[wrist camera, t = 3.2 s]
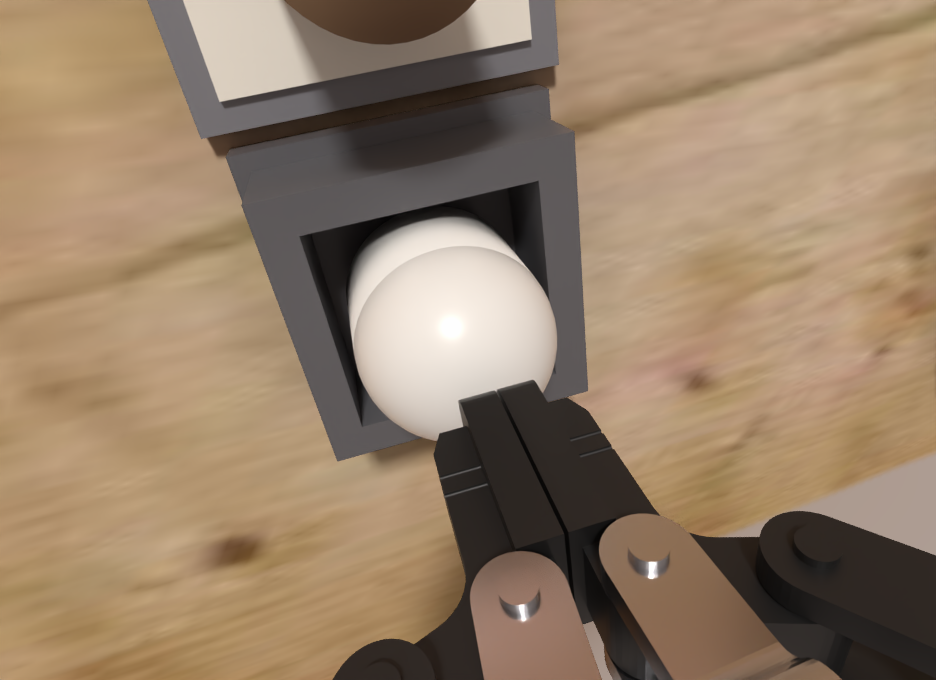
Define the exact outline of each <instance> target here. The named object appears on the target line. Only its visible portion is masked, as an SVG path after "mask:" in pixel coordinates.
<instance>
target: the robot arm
mask: <svg viewBox="0 0 936 680" xmlns="http://www.w3.org/2000/svg"><path fill="white" fill-rule="evenodd" d="M458 403H459V409H460V414H461V419H462V423H463V427H461V428H457V429H453V430H450V431H446V432H443V433H439V437H438V440H437V444H436V448H435V452H434V459H435V463H436V466H437V470H438V474H439V478H440V482H441V486H442V490H443V494H444V498H445V502H446V506H447V509H448V513H449V517H450V520H451V524H452V528H453V531H454V535H455V539H456V542H457V546H458V550H459V553H460V557H461V561H462V564H463V568H464V572H465V575H466V583H465V589H464V593H463V596H462V598H461V600H460V602H459V604H458V606H457V608H456V609H455V611H454V612H453V613H452V615H451V616H450V617H449V618H448V619H447V620H446V621H445V622H444V623H443V624H441V625H440V626H439V627H438V628H436V629H435V630H434V631H432V632H431V633H429V634H428V635H427V636H425V637H424V638H422V639H421V640H420V641H418V642H417V643H415V644H412V643H410V642H407V641H404V640H400V639H384V640H379V641H376V642H373V643H370V644H368V645H366V646H364V647H362V648H361V649H359V650H358V651H356V652H355V653H354V654H353V655H351V656H350V657H349V658H348V659H347V660H346V661H345V663H344V664H343V665H342V666H341V668H340V669H339V670H338V672H337V673H336V675H335V677H334V678H333V680H602V679H601V676H600V673H599V670H598V667H597V664H596V662H595V659H594V656H593V653H592V650H591V647H590V644H589V642H588V639H587V636H586V633H585V630H584V627H583V624H586V623H588V622H591V621H594V623H595V625H596V628H597V630H598V632H599V634H600V636H601V638H602V641H603V643H604V653H605V661H606V665H607V668H608V670H609V673H610V675H611V676H612V678H613V680H936V556H935V555H932V554H930V553H927V552H925V551H922V550H919V549H916V548H914V547H911V546H908V545H905V544H903V543H900V542H897V541H894V540H891V539H889V538H886V537H883V536H880V535H877V534H875V533H872V532H869V531H866V530H864V529H861V528H858V527H855V526H853V525H850V524H847V523H845V522H842V521H839V520H836V519H833V518H830V517H828V516H825V515H821V514H817V513H812V512H805V511H793V512H787V513H782V514H780V515H777V516H775V517H773V518H772V519H770V520H769V521H768V522H767V523H766V524H765V525H764V527H763V529H762V530H761V534H760V537H705V536H699V535H695V534H692V533H688V532H687V531H686V530H685V529H684V528H683V527H682V526H680V525H679V524H677V523H676V522H674V521H672V520H670V519H667V518H665V517H662V516H660V515H659V514H658V513H657V511H656V510H655V509H654V508H653V506H652V505H651V503H650V502H649V500H648V499H647V497H646V496H645V494H644V493H643V491H642V490H641V488H640V487H639V485H638V484H637V483H636V481H635V480H634V478H633V477H632V475H631V474H630V472H629V471H628V469H627V468H626V466H625V465H624V463H623V462H622V460H621V459H620V457H619V456H618V454H617V453H616V451H615V450H614V449H612V447H611V444H610V443H609V441H608V440H607V438H606V437H605V435H604V434H602V433H601V429H600V428H599V426H598V425H597V423H596V422H595V420H594V419H593V417H592V416H591V415H590V413H589V412H588V411H587V410H586V409H584V408H583V407H581V406H580V405H578V404H576V403H575V402H573V401H572V400H570V399H568V398H563V399H560V400H556V401H553V402H549V403H548V402H547V400H546V398H545V397H544V395H543V393H542V392H541V390H540V388H539V386H538V385H537V383H536V382H535V381H534V380H529V381H525V382H522V383H518V384H514V385H511V386H507V387H504V388H500V389H497V391H495V390H493V391H490V392H486V393H482V394H479V395H475V396H471V397H468V398H464V399H461V400H458Z"/></svg>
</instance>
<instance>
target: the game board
mask: <svg viewBox="0 0 936 680" xmlns="http://www.w3.org/2000/svg"><path fill="white" fill-rule="evenodd" d="M147 1H148V3H149V6H150V8H151V11H152V14H153V16H154V19H155V21H156V24H157V26H158V29H159V32H160V34H161V37H162V39H163V42H164V44H165V47H166V50H167V52H168V55H169V57H170V60H171V62H172V65H173V68H174V70H175V73H176V75H177V78H178V80H179V83H180V86H181V88H182V91H183V93H184V96H185V98H186V101H187V104H188V106H189V109H190V111H191V114H192V117H193V119H194V122H195V124H196V127H197V129H198V132H199V135H200V137H201V139H203V138H208V137H213V136H218V135H222V134H227V133H232V132H237V131H242V130H246V129H251V128H256V127H261V126H266V125H271V124H275V123H280V122H285V121H290V120H295V119H300V118H304V117H309V116H314V115H319V114H324V113H329V112H333V111H338V110H343V109H348V108H353V107H357V106H362V105H367V104H372V103H377V102H382V101H386V100H391V99H396V98H401V97H406V96H411V95H415V94H420V93H425V92H430V91H435V90H440V89H444V88H449V87H454V86H459V85H464V84H468V83H473V82H478V81H483V80H488V79H493V78H497V77H502V76H507V75H512V74H517V73H522V72H526V71H531V70H536V69H541V68H546V67H550V66H555V65H559V59H558V43H557V27H556V12H555V0H476V1H475V2H474V3H473V5H472V6H471V7H470V8H469V9H468V10H467V11H466V12H465V13H464V14H462V15H461V16H460V17H459V18H458V19H456V20H455V21H454V22H453V23H451V24H449V25H448V26H446V27H445V28H443V29H441V30H440V31H438V32H436V33H434V34H431V35H429V36H427V37H425V38H422V39H418V40H414V41H411V42H407V43H399V44H391V45H385V44H369V43H363V42H357V41H353V40H350V39H347V38H344V37H341V36H337V35H335V34H333V33H331V32H329V31H327V30H325V29H323V28H320V27H319V26H317V25H316V24H314V23H313V22H311V21H309V20H308V19H306V18H305V17H303V16H302V15H301V14H300V13H298V12H297V11H296V10H295V9H293V8H292V7H291V6H290V5H289V4H287V3H286V2H285V1H284V0H147Z"/></svg>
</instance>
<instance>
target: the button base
mask: <svg viewBox="0 0 936 680" xmlns="http://www.w3.org/2000/svg"><path fill="white" fill-rule="evenodd" d="M226 159H227V162H228V165H229V167H230V170H231V173H232V175H233V178H234V181H235V183H236V186H237V189H238V191H239V194H240V197H241V199H242V208H243V211H244V213H245V216H246V219H247V221H248V224H249V227H250V229H251V232H252V235H253V237H254V240H255V243H256V245H257V248H258V251H259V253H260V256H261V259H262V261H263V264H264V267H265V269H266V272H267V275H268V277H269V280H270V283H271V285H272V288H273V291H274V293H275V296H276V299H277V301H278V304H279V307H280V309H281V312H282V315H283V317H284V320H285V323H286V325H287V328H288V331H289V333H290V336H291V339H292V341H293V344H294V347H295V349H296V352H297V355H298V357H299V360H300V363H301V365H302V368H303V371H304V373H305V376H306V379H307V381H308V384H309V387H310V389H311V392H312V395H313V397H314V400H315V403H316V405H317V408H318V411H319V413H320V416H321V419H322V421H323V424H324V427H325V429H326V432H327V435H328V437H329V440H330V443H331V445H332V448H333V451H334V453H335V456H336V459H337V461H341V460H345V459H348V458H352V457H355V456H359V455H362V454H366V453H369V452H373V451H377V450H380V449H384V448H387V447H391V446H394V445H398V444H401V443H405V442H409V441H412V440H416V439H419V438H423V437H420V436H417V435H415V434H413V433H411V432H408V431H407V430H405V429H403V428H402V427H400V426H399V425H397V424H396V423H394V422H393V421H391V420H390V419H389V418H388V417H387V416H386V415H385V414H384V413H383V412H382V411H381V410H380V409H379V408H378V407H377V405H376V404H375V403H374V402H373V401H372V399H371V397H370V396H369V394H368V392H367V391H366V389H365V387H364V385H363V383H362V381H361V378H360V376H359V373H358V369H357V365H356V361H355V356H354V350H353V343H352V336H351V329H350V321H349V314H348V307H347V299H346V283H347V277H348V272H349V268H350V266H351V263H352V260H353V258H354V256H355V254H356V253H357V251H358V249H359V248H360V246H361V245H362V243H363V242H364V241H365V239H366V238H367V237H368V236H369V235H370V234H371V233H372V232H373V231H374V230H375V229H377V228H378V227H379V226H380V225H382V224H383V223H385V222H386V221H388V220H389V219H391V218H393V217H395V216H397V215H399V214H401V213H404V212H407V211H410V210H415V209H419V208H423V207H432V206H443V207H452V208H456V209H461V210H464V211H467V212H469V213H472V214H474V215H476V216H478V217H480V218H481V219H483V220H484V221H486V222H487V223H488V224H490V225H491V226H492V227H493V228H494V229H495V230H496V231H497V232H498V233H499V234H500V235H501V237H502V238H503V239H504V240H505V242H506V243H507V244H508V245H509V246H510V248H511V249H512V250H513V251H514V252H515V254H516V255H517V256H518V257H519V259H520V260H521V261H522V262H523V263H524V265H525V266H526V267H527V268H528V269H529V271H530V272H531V273H532V274H533V276H534V277H535V278H536V280H537V281H538V282H539V284H540V285H541V287H542V289H543V290H544V292H545V294H546V296H547V298H548V300H549V302H550V305H551V308H552V311H553V315H554V318H555V323H556V329H557V352H556V359H555V364H554V368H553V372H552V375H551V377H550V380H549V382H548V384H547V386H546V388H545V390H544V392H543V395H544V397H545V398H546V400H547V402H551V401H554V400H558V399H561V398H565V397H568V396H572V395H576V394H579V393H583V392H586V391H588V380H587V362H586V343H585V324H584V305H583V286H582V267H581V249H580V230H579V211H578V192H577V173H576V155H575V136H574V131H573V130H571V129H569V128H567V127H565V126H563V125H561V124H559V123H557V122H555V121H553V120H551V115H550V101H549V89H548V88H545V87H542V86H540V85H537V84H536V85H531V86H527V87H522V88H517V89H512V90H508V91H503V92H498V93H493V94H489V95H484V96H479V97H474V98H470V99H465V100H460V101H455V102H451V103H446V104H441V105H436V106H432V107H427V108H422V109H417V110H413V111H408V112H403V113H398V114H394V115H389V116H384V117H379V118H375V119H370V120H365V121H360V122H356V123H351V124H346V125H341V126H337V127H332V128H327V129H322V130H318V131H313V132H308V133H303V134H299V135H294V136H289V137H284V138H280V139H275V140H270V141H265V142H261V143H256V144H251V145H246V146H242V147H237V148H232V149H230V150H229V152H228V154H227V156H226Z"/></svg>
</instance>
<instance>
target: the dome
mask: <svg viewBox="0 0 936 680" xmlns="http://www.w3.org/2000/svg"><path fill="white" fill-rule="evenodd" d="M346 299H347V307H348V314H349V321H350V329H351V336H352V343H353V350H354V356H355V361H356V365H357V369H358V373H359V376H360V378H361V381H362V383H363V385H364V387H365V389H366V391H367V392H368V394H369V396H370V397H371V399H372V401H373V402H374V403H375V404H376V405H377V407H378V408H379V409H380V410H381V411H382V412H383V413H384V414H385V415H386V416H387V417H388V418H389V419H390V420H391V421H393V422H394V423H396V424H397V425H399V426H400V427H402V428H403V429H405V430H407V431H408V432H411V433H413V434H415V435H417V436H420V437H423V438H426V439H429V440H434V441H437V440H438V437H439V433H443V432H446V431H450V430H453V429H457V428H461V427H463V423H462V419H461V414H460V409H459V403H458V400H461V399H464V398H468V397H471V396H475V395H479V394H482V393H486V392H490V391H493V390H495V391H497V389H500V388H504V387H507V386H511V385H514V384H518V383H522V382H525V381H529V380H534V381H535V382H536V383H537V385H538V386H539V388H540V390H541V392H542V393H543V392H544V390H545V388H546V386H547V384H548V382H549V380H550V377H551V375H552V372H553V368H554V364H555V359H556V352H557V329H556V323H555V318H554V315H553V311H552V308H551V305H550V302H549V300H548V298H547V296H546V294H545V292H544V290H543V289H542V287H541V285H540V284H539V282H538V281H537V280H536V278H535V277H534V276H533V274H532V273H531V272H530V271H529V269H528V268H527V267H526V266H525V265H524V263H523V262H522V261H521V260H520V259H519V257H518V256H517V255H516V254H515V252H514V251H513V250H512V249H511V248H510V246H509V245H508V244H507V243H506V242H505V240H504V239H503V238H502V237H501V235H500V234H499V233H498V232H497V231H496V230H495V229H494V228H493V227H492V226H491V225H490V224H488V223H487V222H486V221H484V220H483V219H481V218H480V217H478V216H476V215H474V214H472V213H469V212H467V211H464V210H461V209H456V208H452V207H443V206H432V207H423V208H419V209H415V210H410V211H407V212H404V213H401V214H399V215H397V216H395V217H393V218H391V219H389V220H388V221H386V222H385V223H383V224H382V225H380V226H379V227H378V228H377V229H375V230H374V231H373V232H372V233H371V234H370V235H369V236H368V237H367V238H366V239H365V241H364V242H363V243H362V245H361V246H360V248H359V249H358V251H357V253H356V254H355V256H354V258H353V260H352V263H351V266H350V268H349V272H348V277H347V283H346Z"/></svg>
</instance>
